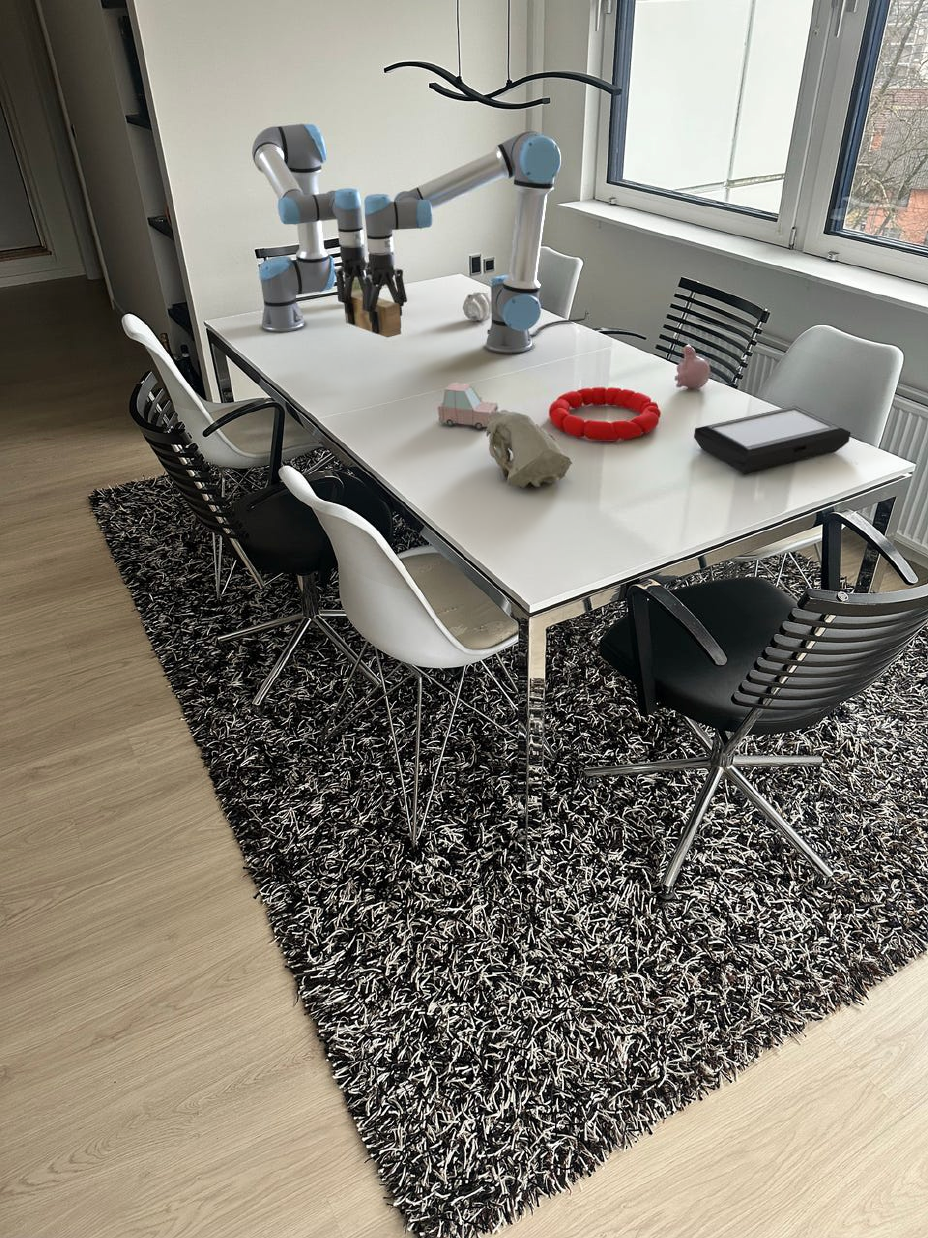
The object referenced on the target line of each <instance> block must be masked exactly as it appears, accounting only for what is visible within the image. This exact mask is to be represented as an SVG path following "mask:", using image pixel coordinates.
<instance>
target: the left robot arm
mask: <svg viewBox="0 0 928 1238" xmlns="http://www.w3.org/2000/svg"><path fill="white" fill-rule="evenodd" d="M251 155H252V160H253V163H254V165H255V167H256V168H257V170H258V171H259V172H261V173H262V174H264V176H265V177H266V179H267V181H268V183H269V184H270V187H271V188H272V190H273V191H274V192H273V193H275V194H276V197H277V199H278V201H277V211H278V215H279V218H280V221H281V223H282V224H284V225H296V227H297V236H298V244H299V248H298V250H297V251H296V253H295V259H293V260H292V258H291V257H290V256H288V255H282V256H275V257H271V258H268V259H265V260H264V261H262V262H261V263H260V265H259V266H258V273H259V274H258V275H259V280H260V287H261V292H262V299H263V313H262V319H261V326H262V330H264V331H265V332H271V333H286V332H293V331H296V330H297V331H298V330H300V329H302V328H304V326H305V319H304V317H303V314H302V312H301V310H300V307H299V306H298V305H299V304H298V303H297V296H298V295H299V296H300V295H305V294H313V293H314V294H315V293H323V292H326V291H330V290H332V289H333V288H334V286H335V283H336V291H337V292H336V293H337V301H338V303H339V302H340V303H342V304H343V307H344V314H345V313H346V314H347V317H348V323H349V324H348V323H347V324H348V325H351V324H352V326H354V324H355V321H354V311H353V303H350V302H351V294H352V285H353V281H354V278H355V277H357V278H358V281H359V284H360V287H361V290H362V293H363V281H362V276H365V274H364V269H366V276H368V275H370V271H371V269H370V266H369V261H366V259H365V258H366V250H365V247H366V246H365V245H364V243H365V240H364V238H365V237H364V227H363V226H364V225H363V214H362V213H363V212H362V201H361V195H360V191H359V190H358V189H357V188H349V187H347V188H339V189H337V190H329V191H327V192H326V193H325V192H323V193H320V190H319V189H320V187H319V177H318V175H319V174H320V173H321V172H322V164H324V163H325V162H326V161H327V150H326V144H325V141H324V138H323V135H322V133H321V131H320V129H319V128H318V126H317V125H315V124H312V123H296V124H288V125H287V124H286V125H279V126H276V125H274V126H269V127H266V128H265V129H263V130H262V131H261V132H260V133H258V135H257V136H256V138H255V139H254V142H253V144H252V150H251ZM332 220H333V221H334V220H336V222H337V231H338V233H337V234H338V244H339V245H340V247H339V252H340V259H341V265H340V267H339V268H336V266H335V265H336V263H335V260H334V258H333V256H331V255H330V253H329V251H328V250H327V249H326V248H325V246H324V244H325V243H324V235H323V222H325V221H332ZM343 271H344V272H345V281H344V273H343ZM349 277H350V278H349ZM371 281H372V282H371V291H372V283H373V280H372V279H371Z"/></svg>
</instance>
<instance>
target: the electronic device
mask: <svg viewBox="0 0 928 1238" xmlns="http://www.w3.org/2000/svg"><path fill="white" fill-rule="evenodd" d="M851 433H852V432H851V431H849V430H847V429H845V428H843V427H841V426H839V425H836V424H834V423H832V422H830V421H829V420H825V419H824V418H821V417H819V416H818V415H815V414H814V413H811V412H809V411H806V410H805V409H803V408H800V407H798V406H796V405H793V406H790V407H785V408H781V409H775V410H771V411H767V412H762V413H757V414H754V415H748V416H743V417H740V418H736V419H730V420H726V421H721V422H717V423H713V424H708V425H704V426H700V427H694V435H693V438H694V440H695V441H696V443H697V444H698V446H699V447H700V449H701V450H703V451H704V452H706V453H708V454H709V455H711V456H713V457H715V458H716V459H718V460H720V461H722V462H723V463H725V464H727V465H728V466H730V467H732V468H734V469H736V470H737V471H739V472H740V473H742V474H743V475H745V474H748V473H752V472H758V471H761V470H765V469H769V468H773V467H777V466H782V465H785V464H790V463H794V462H798V461H802V460H806V459H810V458H814V457H817V456H818V457H819V456H823V455H826V454H830V453H835V452H838V451H839V450H840V449H842V448H843V447H844V446H845V445H847V444H848V443H849V442H850V437H851Z"/></svg>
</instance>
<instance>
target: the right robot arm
mask: <svg viewBox="0 0 928 1238" xmlns="http://www.w3.org/2000/svg"><path fill="white" fill-rule="evenodd" d="M561 163H562V154H561V151H560V148H559V146H558V145H557V144H556V142H555V140H553V139H552V138H551V137H549V136H548V135H546V134H543V133H540V132H538V131H533V130H527V131H524V132H523V131H522V132H520V133H519V134H516V135H515V136H513V137H511V138H509V139H507V140H505V141H503V142H502V143H500V144H498V145H495V146H494V149H493V151H491V152H489V153H487V154H485V155H483V156H481V157H478V158H477V159H474V160H472V161H469V162H468V163H465V164H463V165H461V166H459V167H457V168H455V169H453V170H451V171H449V172H447V173H444V174H442V175H440V176H437V177H436V178H434V179H432V180H430V181H427V182H426V183H423V184H420V185H419V186H417V187H415V188H412V189H410V190H408V191H407V190H402V191H400V192H398V193H397V194H396V195H395V197H394V199H393V201H391V197H390V196H389V194H385V193H374V194H369V195H366V196H365V198H364V204H363V205H364V221H365V230H366V231H365V232H366V243H367V252H368V262H369V266H370V269H371V271H370V275H368V276H362V281H363V307H362V309H363V310H365V311H368V312H369V321H370V323H372V332H371V333H373V334H376V335H379V322H378V312H376V311H375V310H376V306H377V301H378V298H380V297H379V296H380V292H381V290H382V288H383V287H384V286H387V289H388V291H389V293H390V296H391V298H392V300H393V302H394V303H397V304H399V310H400V325H401V326H402V318H401V317H402V316H403V307H404V305H405V303H407V302H408V299H407V298H408V297H407V293H406V288H405V283H404V270H403V269H400V268H395V253H394V252H393V251H394V239H393V231H400V230H416V229H418V230H422V229H426V228H427V229H428V228H431V227H432V225H433V222H434V221H433V220H434V217H433V215H434V214H433V210H435V209H437V208H440V207H442V206H443V205H446V204H448V203H450V202H452V201H453V202H454V201H455V200H457V199H459V198H461V197H464V196H466V195H467V194H468V195H469V194H470V193H472V192H474V191H476V190H478V189H481V188H483V187H485V186H487V185H489V184H491V183H494V182H496V181H498V180H501V179H506V180H509V179H511V178H513V177H514V178H513V186H514V187H515V189H516V190H517V197H516V206H515V215H514V216H515V217H514V225H513V233H512V241H511V242H512V243H511V253H510V261H509V268H508V270H509V272H508V274H502V275H496V276H494V277H492V278H491V280H490V281H491V282H490V296H491V325H490V327H489V329H487V330H486V334H487V338H486V344H485V345H486V347H485V348H486V349H487V350H488V351H489V352H492V353H496V354H503V355H512V354H513V355H514V354H520V353H525V352H528V351H529V350H531V349H532V346H533V345H532V344H533V341H532V337H535V336H537V335H538V333H539V332H540V330H542V329H544V328H546V327H548V326H552V325H557V324H562V323H574V322H575V323H576V322H581V321H584V320H586V318H587V317H588V315H589V314H590V313H589V311H588V310H585V313H584V317H581V318H575V319H564V320H556V321H552V322H548V323H546V324H543V325H541V326H540V327H538V328H537V330H536V331H535V332H534V333H532V334H531V333H530V329H531V328H533V327H534V326H535V325H536V324H537V323H538V321H539V320H540V319H541V318H540V317H541V314H542V306H541V302H540V301H539V298H540V291H541V283H540V282H539V281H538V280H537V276H538V269H539V260H540V252H541V245H542V238H543V230H544V221H545V214H546V207H547V199H548V194H550V192H552V191H553V190H554V185H555V177H556V176H557V175H558V174H559V171H560V168H561ZM371 279H372V280H373V283H372V291H371V282H372V281H371Z"/></svg>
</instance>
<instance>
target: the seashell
mask: <svg viewBox="0 0 928 1238" xmlns="http://www.w3.org/2000/svg"><path fill="white" fill-rule="evenodd" d="M462 311H463V315H465V317H466V318H467V319H468V320H470V321H472V322H476V321H487V320H488V319H489V318H490V317H492V315H491V295H489V294H488V293H484V292H474V293H472V294H471V293H470V294H467V296H466V297H465V299H464V300H463V305H462Z"/></svg>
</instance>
